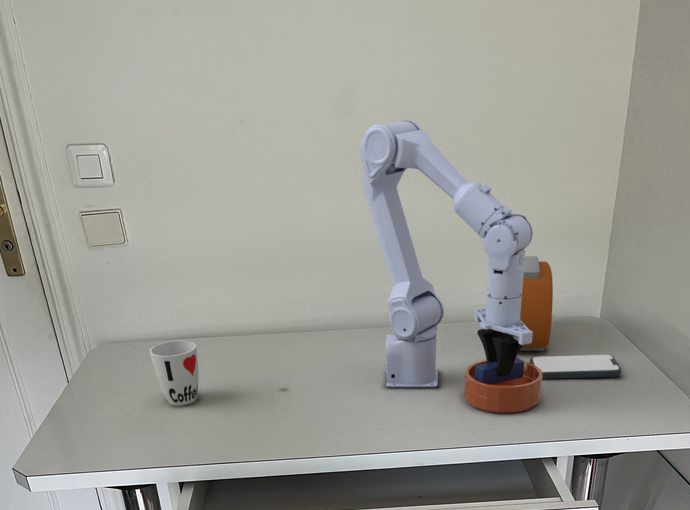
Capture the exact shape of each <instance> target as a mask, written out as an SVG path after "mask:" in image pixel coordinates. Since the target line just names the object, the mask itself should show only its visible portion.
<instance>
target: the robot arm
mask: <svg viewBox="0 0 690 510" xmlns="http://www.w3.org/2000/svg"><path fill="white" fill-rule="evenodd" d="M358 151H359V154H360V158H361V161H362V189H363V192H364V195H365V198H366V201H367V202H366V203H367V205H368V208H369V212H370V216H371V218H372V222H373V225H374V228H375V232H376V236H377V239H378V242H379V245H380V249H381V252H382V255H383V259H384V262H385V265H386V269H387V271H388V275H389V279H390V281H391V285H392V289H391V292H390V294H389V297H388V299H387V306H388V309H389V317H388V323H389V326H390V329H391V331H392V333H393V334H387V335H386V342H385V365H384V366H385V367H384V368H385V369H384V370H385V374H386V387H387V388H437V387H438V382H439V381H438V378H439V375H438V374H439V371H438V369H437V331H438V325H439V324H440V323H441V322H442V321H443V318H444V315H445V307H444V304H443V302H442V300H441V299H440V297H439V296H438V295H437V293H436V290H435V289H434V285H433V284H432V283H431V282H430V281H428V280H427V278H424V277H423V274H422V271H421V267H420V264H419V261H418V257H417V254H416V250H415V246H414V243H413V240H412V237H411V232H410V229H409V226H408V222H407V219H406V216H405V212H404V209H403V208H404V207H403V205H402V202H401V198H400V195H399V191H398V185H399V183H400V181H401V180H402V177H403V176H404V173H405V171H407V170H408V169H412V170H414V169H415V170H417V171H419V172H421V173H422V174H423V175H424V176H425V177H427V179H429V180H430V181H431V182H432V183H433V184H434V185H436V186H437V187H438V188H439V189H440V190H442V191H443V192H444V193H445V194H446V195H447V196H448V197H450V198H451V199H452V201H453V210H454V212H455V214H457V216H458V217H459V218H460V219H462V220H463V221H464V222H465V223H466V225H468V227H470V228H471V229H472V230H473V231H474V232H475V233H476V235H478V236H479V237H480V238H481V239H482V247H483V249H484V252H485V253H486V255H487V258H488V260H487V263H488V264H487V265H488V266H487V286H486V303H485V306H486V307H485V308H480V309H475V310H474V320H473V321H474V322H476V323H479V327H480V328H479V329H478V330H477V336H478V337H479V340H480V341H481V344H482V347H483V350H484V354H485V360H487V363H490V362H494V361H497V370H498V375H499V376H500V377H502V376H506V375H510V373H511V371H512V368H513V365H514V362H515V359H516V357H517V358H518V355H519V353H520V351H521V350H520V349H521V348H522V346H523V345H524V344H529V343H532V335H533V332H532V331H530V330H529V329H528V328H527V327H526V326H525V325H524V323H523V322H522V321H521V320H520V313H521V300H522V288H523V275H524V260H525V256H526V250H525V249H526V248H528V246H529V245H530V244H531V242H532V239H533V228H532V224H531V223H530V221H529V220H528V219H527V217H526V216H525V215H524V214H522V213H515V212H514V213H512V212H513V210H512V208H510V207H509V206H505V205H504V204H503V203H501V201H500V200H498V198H497V197H495V196H494V194H493V193H491V191H492V187H490V186H489V184H488V183H484V184H482V183H481V182H479V181H476V182H469V181H468V180H467V179H466V178H465V176H464V175H462V174H461V172H460V171H459V170H458V169H457V168H456V167H455V166H454V164H453V163H451V161H450V160H449V159H448V158H447V157H446V156H445V155H444V154H443V152H442V151H440V149H439V148H438V147H437V146H436V144H434V142H433V141H432V139H431V137H430V134H429V133H428V132H427V131H425V130H424V129H422V128H421V127H420V126H419V124H418V123H417V122H415V121H413V120H410V119H404V120H401V121H398V122H392V123H386V124H385V123H384V124H379V123H378V124H374V125H372V126H370V127H369V128H368V129H367V130H366V132H365V134H364V136H363V138H362V140H361V142H360V145H359V147H358Z"/></svg>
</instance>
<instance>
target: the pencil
mask: <svg viewBox="0 0 690 510" xmlns="http://www.w3.org/2000/svg"><path fill="white" fill-rule="evenodd" d="M526 362H527V361H525V360H523V359H521V358H519V357H518V356H517V357H516V359H515V362H514V365H513V368H512V371H511V373H510V375H506V376H502V377H500V376H499V375H498V370H497V361H494V362H490V363H485V364H480V365H476V366H475V380H477V381H479V382H481V383H485V384H489V385H491V384H495V383H500V382H504V381H509V380H513V379H518V378H522V377H523V372H525V371H526V370H527V368H528V367H529V365H528V363H529V362H527V363H526Z"/></svg>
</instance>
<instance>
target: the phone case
mask: <svg viewBox="0 0 690 510" xmlns="http://www.w3.org/2000/svg"><path fill="white" fill-rule="evenodd" d="M529 363H530V364H532V365H535V366H537V367H538V368H539V369H540V370H541V371H542V374H543V377H542V380H547V379H548V380H552V379H556V380H557V379H585V378H587V379H589V378H616V377H620V376H621V374H622V368H621V366H620V365H619V363H618V362H617V360H616V358H615V356H613V355H612V354H583V355H582V354H581V355H554V356H553V355H550V356H549V355H548V356H532V357H531V358H529Z"/></svg>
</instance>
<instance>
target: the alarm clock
mask: <svg viewBox="0 0 690 510" xmlns="http://www.w3.org/2000/svg"><path fill="white" fill-rule="evenodd" d="M553 288H554V285H553V273H552V268H551V266H550V264H549V263H548V262H547V261H539V257H538V256H536V255H528V256H526V255H525V260H524V275H523V288H522V300H521V313H520V320H521V321H522V322H523V323H524V325H525V326H526V327H527V328H528V329H529V330H530V331H532V332H533V335H532V343H529V344H524V345H523V346H522V348H521V349H520V351H531V352H534V351H535V352H537V351H539V352H544V351H545V349H547V348H548V347H549V344H550V342H551V341H550V339H551V333H552V331H551V330H552V321H553V320H552V319H553V301H554V299H553V297H554V296H553V295H554V289H553Z"/></svg>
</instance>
